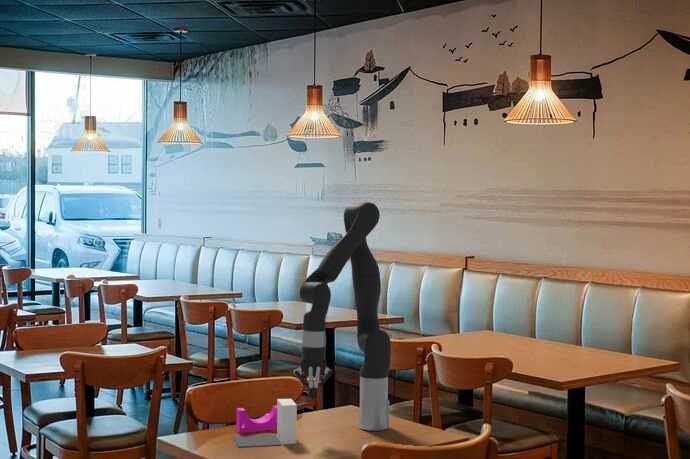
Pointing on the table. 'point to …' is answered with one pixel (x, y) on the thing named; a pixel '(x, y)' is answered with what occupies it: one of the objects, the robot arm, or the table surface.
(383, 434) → the table surface
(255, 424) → the toy block
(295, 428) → the white rectangular block
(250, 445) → the mat
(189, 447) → the table surface
